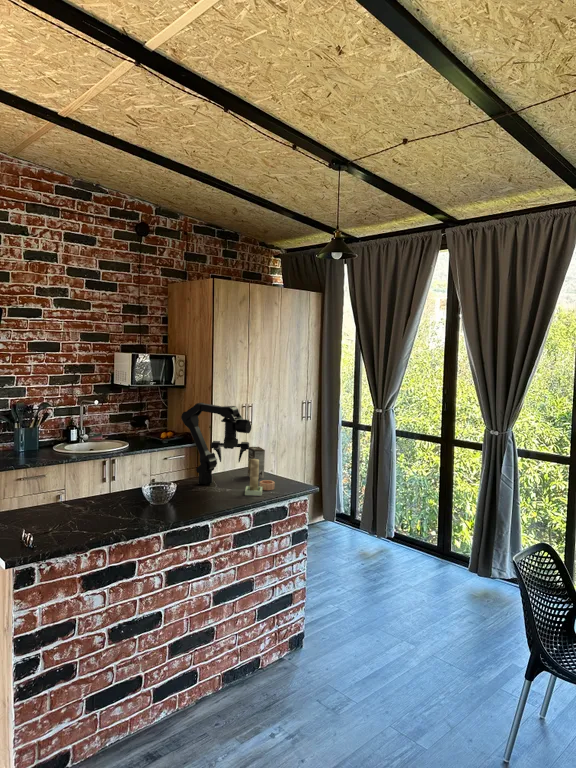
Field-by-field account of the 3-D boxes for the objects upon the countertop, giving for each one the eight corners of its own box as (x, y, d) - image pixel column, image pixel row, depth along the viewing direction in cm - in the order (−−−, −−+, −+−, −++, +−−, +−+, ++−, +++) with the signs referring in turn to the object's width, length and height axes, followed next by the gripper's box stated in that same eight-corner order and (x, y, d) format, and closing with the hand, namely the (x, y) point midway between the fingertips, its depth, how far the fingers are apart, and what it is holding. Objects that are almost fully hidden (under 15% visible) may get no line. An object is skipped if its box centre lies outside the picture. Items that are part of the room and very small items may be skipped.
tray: (244, 496, 256) (245, 490, 256) (246, 491, 264) (246, 486, 264) (261, 496, 256) (261, 491, 256) (262, 491, 264) (262, 486, 264)
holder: (259, 490, 266) (259, 483, 265) (259, 486, 273) (260, 479, 273) (274, 491, 266) (274, 484, 265) (274, 487, 273) (274, 480, 273)
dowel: (248, 492, 259) (249, 460, 257) (251, 490, 263) (252, 458, 261) (255, 493, 257) (257, 461, 256) (259, 491, 261) (260, 459, 260)
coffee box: (247, 475, 294) (247, 446, 293) (258, 474, 297) (258, 446, 296) (253, 479, 286) (254, 450, 285) (264, 479, 289) (265, 449, 287)
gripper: (209, 433, 259) (208, 465, 260) (248, 434, 259) (247, 466, 260) (212, 429, 270) (212, 460, 271) (249, 430, 270) (248, 461, 272)
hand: (229, 462), depth 268 cm, fingers open, 9 cm apart
